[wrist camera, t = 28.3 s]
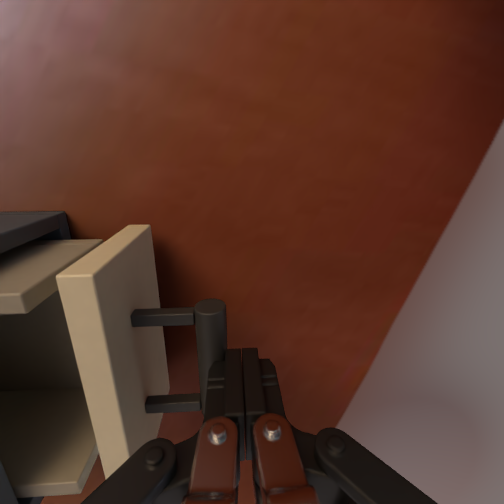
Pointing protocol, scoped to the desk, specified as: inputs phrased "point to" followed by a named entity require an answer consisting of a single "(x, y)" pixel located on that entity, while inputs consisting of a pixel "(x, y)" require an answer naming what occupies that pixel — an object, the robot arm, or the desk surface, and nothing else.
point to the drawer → (88, 357)
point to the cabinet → (8, 237)
